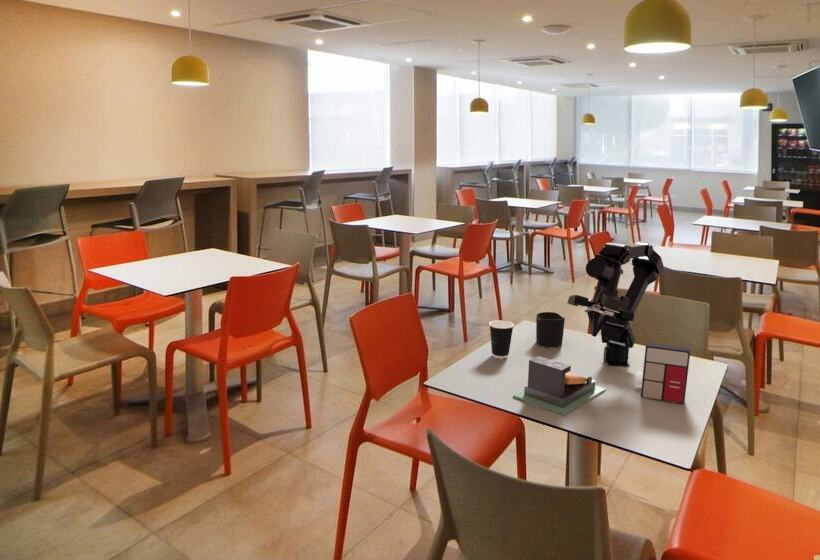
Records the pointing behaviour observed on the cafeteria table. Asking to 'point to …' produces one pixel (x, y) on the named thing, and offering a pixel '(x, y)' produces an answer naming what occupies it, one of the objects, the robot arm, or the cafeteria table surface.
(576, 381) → the orange upright panel
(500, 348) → the dixie cup
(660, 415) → the cafeteria table surface
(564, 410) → the green flat slab
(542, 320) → the pen holder
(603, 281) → the robot arm
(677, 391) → the panelled box
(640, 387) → the external hard drive
